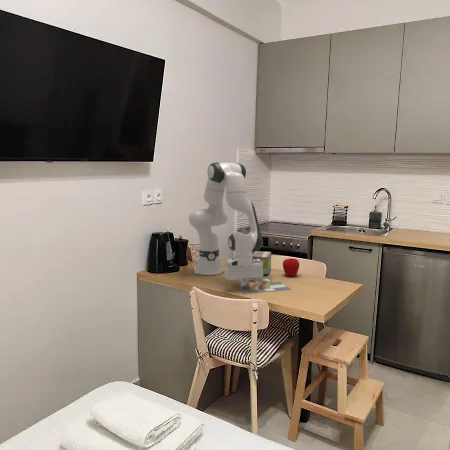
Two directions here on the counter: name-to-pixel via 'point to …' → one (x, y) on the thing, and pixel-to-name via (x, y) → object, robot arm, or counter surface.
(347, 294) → the counter surface
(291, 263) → the apple
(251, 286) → the tee
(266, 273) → the tea box
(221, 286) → the counter surface
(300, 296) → the counter surface
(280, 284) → the mat
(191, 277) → the counter surface
